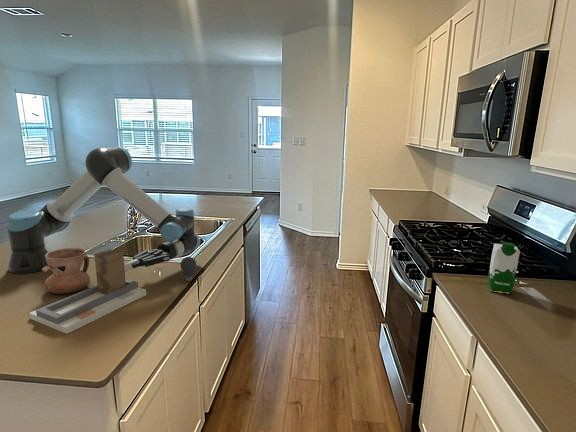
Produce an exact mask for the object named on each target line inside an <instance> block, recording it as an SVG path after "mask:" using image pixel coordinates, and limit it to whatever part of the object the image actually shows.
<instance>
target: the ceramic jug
mask: <svg viewBox="0 0 576 432" xmlns="http://www.w3.org/2000/svg"><path fill="white" fill-rule="evenodd" d="M45 258H46V261H47V264H48V265H49V266H45V267H44V268H43V269H42V270H41V271H43V272H49V271H51V272H52V274H51V275H49V276H48V277H47V278H46V279H45V281H44V289H45V290H47V292H49V293H51V294H57V295H61V294H62V295H65V294H72V293H75V292H79V291H81V290H83V289H85V288H86V287H87V286H88V285H89V283H90V282H91V277H90V275H89V274H88V273H87V272H88V269H89V267H90V257H89V256H88V255H87V254H86V251H85V250H84V249H82V248H80V247H64V248H58V249H53V250H51V251H48V253H47V254H46V255H45ZM82 265H83V267H82ZM81 269H82V270H81Z"/></svg>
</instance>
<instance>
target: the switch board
mask: <svg viewBox="0 0 576 432" xmlns="http://www.w3.org/2000/svg"><path fill="white" fill-rule="evenodd" d="M125 282H126V286H125V287H122V288H120V289H118V290H115V291H113V292H111V293H109V294H103V293H100V292H98V286H97V285H95V286H92V287H89V288H86V289H84V290H82V291H80V292H79V291H78V292H77V293H74V294H72V295H70V296H67V297H65V298H62V299H59V300H56V301H55V302H52V303H50V304H47V305H44V306H42V307H40V308H37V309H36V310H33V311H31V312H29V313H28V314H29V319H30V320H33V321H35V322H37V323H40V324H42V325H44V326H47V327H49V328H51V329H54V330H56V331H58V332H61V333H64V334H66V335H67V334H69V333H72V332H74V331H76V330H79V328H82V327H84V326H87V325H88V324H90V323H93V322H94V321H97V320H98V319H100V318H102V317H104V316H107V315H108V314H111V313H112V312H115V311H117V310H119V309H120V308H122V307H124V306H126V305H129V304H131V303H133V302H136V301H137V300H139V299H141V298H143V297H145V296H147V289H145V288H140V287H139V282H138V281H134V280H131V279H127V278H125Z"/></svg>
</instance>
